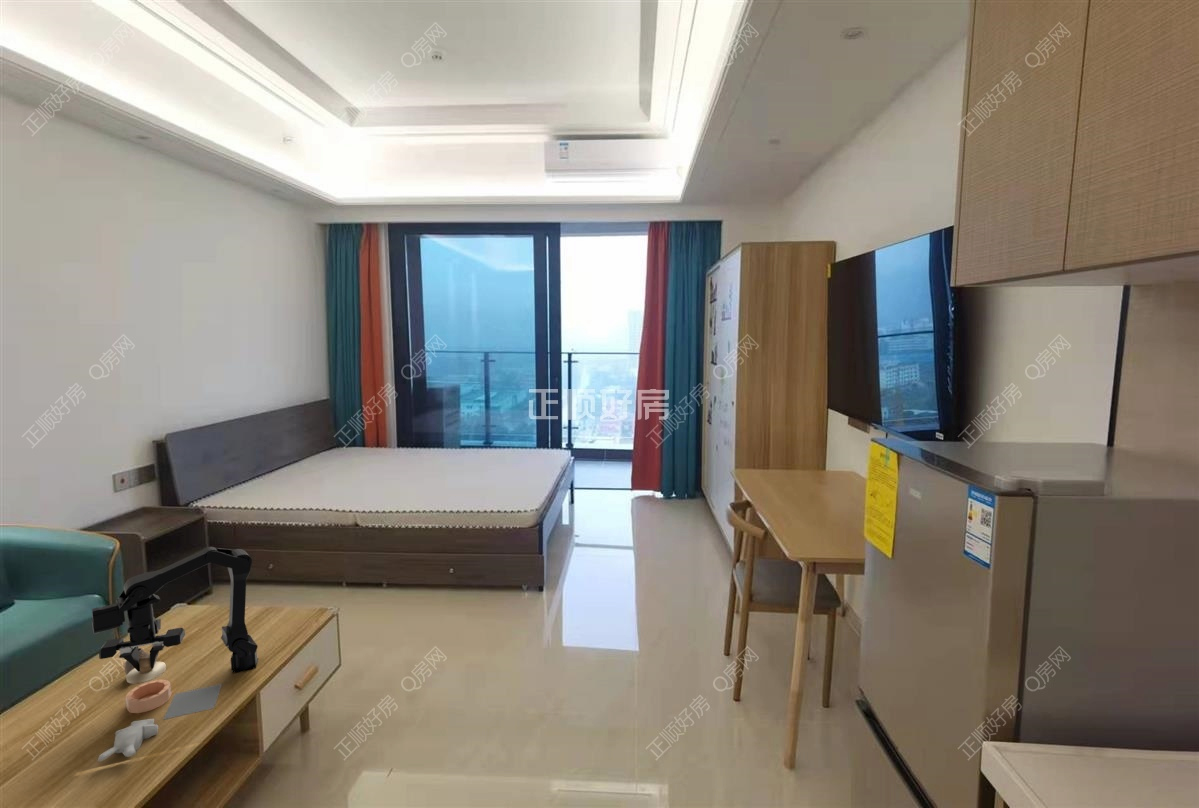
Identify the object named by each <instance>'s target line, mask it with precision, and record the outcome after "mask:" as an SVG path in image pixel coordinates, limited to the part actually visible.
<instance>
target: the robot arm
mask: <svg viewBox="0 0 1199 808" xmlns="http://www.w3.org/2000/svg"><path fill="white" fill-rule="evenodd" d="M209 564H215V565H218V566H222V567H224V568H227V571H228V574H229V577H230V585H229V587H230V590H229V591H230V592H229V613H228V614H229V615H228V616H229V619H228V622H227V625H226V626H225V625H224V626H221V631H222V634H221V636H220V639H221V640H222V642H223V644H224V646H225V647H227V649H228V651H229V652H231V653H232V654H231V655H230V656H231V657H230V667H231V670H232V672H231V673H232V674H237V673H243V672H247V671H252V670H255V669H256V668H257V665H258V662H259V658H258V651H257V649H258V647H259V646H258V644H257V643H256V641H255V640H254V639H253V637H252V635H250V634H249V632H248V628H247V625H246V619H245V618H246V600H247V599H246V596H247V579H248V577H249V575H250V573H251V570H252V565H253V558H252V557H251V556H250V555H249V554H248V552H247V551H245V550H244V549H241V548H237V549H229V548H221V547H214V546H207V547H205V548H204V549H203V550H200V551H198V552H196V553H194V554H191V555H189V556H187V557H184V558H183V559H181V560H178V561H176V562H174V563H172V564H169V565H167V566H165V567H163V568H161V569H157V570H153V571H152V570H151V571H148V572H143V573H140V574H136V575H134V576H132V577H130V578H128V579H127V580H126V582H125V583H124V584H123V590H122V592H121V593H120V594H119V596H118V597H117V598H116V601H115V602H116V603H112V604H109V605H105V606H101V607H100V606H99V607H94V608H91V615H92V617H91V624H92V631H93V635H95V634H100V633H102V632H107V631H110V630H114V629H116V628H120V627H121V626H122V625H123V624H124V622H125V621H126V617H125V612H126V616H127V625H128V628H127V629H126V630H127V634H128V635H129V640H128V641H127V640H126V641H125V640H124V638H123V637H119V638H118V637H117V638H113V639H107V640H106V641H105V642H104V643H103V644H102V646H101V647H100V649H99V650H98V659H100V660H103V659H109V658H113V657H115V655H116V654H117V651H119V656H118V658H120V659H124V660H126V661H128V662H129V663H131V665H132V666H133V667H134V668H135V669H136V670H137V671H138V672H139V671H140V667H139V659H140V658H139V653H138V648H139V647H142V646H148V645H152V647H151V648H150V650H149V654H150V664H151V669H153V668H154V666H155V663H156V662H157V659H158V655H159V652H160V651H163V650H164V648H165V647H166V648H169V647H175V646H178V645H181V644H182V642H183V640H184V637H185V636H186V631H185V629H184V628H183V627H177V628H171V629H170V628H169V629H167V631H166V632H165V633H163V634H159V631H160V630H161V623H162V621H161V620H162V619H161V618H156V617H155V616H154V609H153V605H154V604H156V603H160V602H161V598H160V596H159V595H157V594H156V593H157V592H158V591H159V590H161V589H162V588H163V587H164V586H165V585H167V584H169V583H170V582H171V583H172V582H173V581H175V580H177V579H180V578H181V577H183V576H185V575H188V574H190V573H192V572H194V571H196V570H199V569H200V568H202V567H204V566H206V565H209ZM158 634H159V635H158ZM231 670H230V671H231Z"/></svg>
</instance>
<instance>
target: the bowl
mask: <svg viewBox="0 0 1199 808" xmlns="http://www.w3.org/2000/svg"><path fill="white" fill-rule="evenodd" d="M172 694H173V693H172V686H171V682H170V681H169V680H168V679H153V680H150V681H147V682H144V683H141V684H140V685H137V686H135V687H134V688H132V689H131V690H129V692H127V694H126V696H125V705H126V710H127V711H128V712H129V713H132V714H133V713H134V714H141V713H145V712H146V713H147V712H150V711H152V710H154V709H157V708H158V707H161V706H163V705H164V704H165V703H166V702H168V701H169V700H170V698H171V696H172Z"/></svg>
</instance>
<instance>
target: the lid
mask: <svg viewBox="0 0 1199 808" xmlns="http://www.w3.org/2000/svg"><path fill="white" fill-rule="evenodd" d="M139 667H140V671H139V672H138V671H137V670H136V669H135V668H134V669H133V670H131V671H130V672H129V673H128V674H127V675H126V676H125V677H126V679H125V680H126V682H127V683H129V684H131V685H132V684H133V685H135V684H144V683H146V682H149V681H154V680H156V678H159V677H160V676H162V675H163V674H164V673H165V671H166V670H167V665H166V663H165V662H163V661H156V663H155V666H154V668H153V669H151V664H150V655H147V656H143V657H141V658H140V659H139Z"/></svg>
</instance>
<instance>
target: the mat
mask: <svg viewBox="0 0 1199 808" xmlns="http://www.w3.org/2000/svg"><path fill="white" fill-rule="evenodd" d="M222 686H223V683H219V684H213V685H211V686H206V687H200V688H197V689H192V690H187V691H181V692H178V693H177V692H176V693H175V694H174V695H173V697H172V699H171V702H170V703H169V706H168V708H167V711H166V712H165V715H164V717H163V718H162V719H163V721H165V720H169V719H174V718H177V717H181V716H186V715H190V714H191V715H192V714H196V713H199V712H204V711H208V710H213V709H214V708H215V706H216V703H217V700H218V697H219V694H220V693H221V692H220V691H221V689H222Z"/></svg>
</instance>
